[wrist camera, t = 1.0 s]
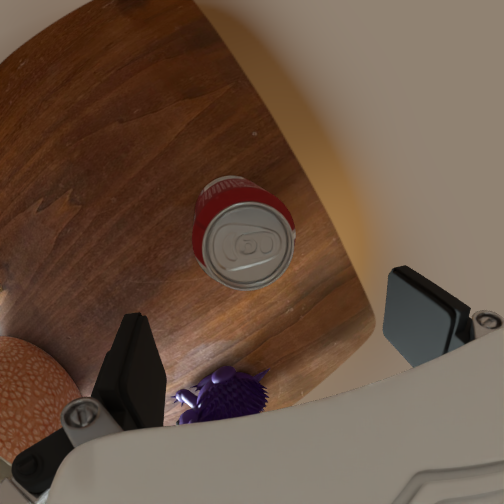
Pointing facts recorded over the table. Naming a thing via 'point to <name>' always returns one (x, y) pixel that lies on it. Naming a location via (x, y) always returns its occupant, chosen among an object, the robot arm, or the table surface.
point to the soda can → (242, 234)
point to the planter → (29, 398)
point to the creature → (223, 396)
